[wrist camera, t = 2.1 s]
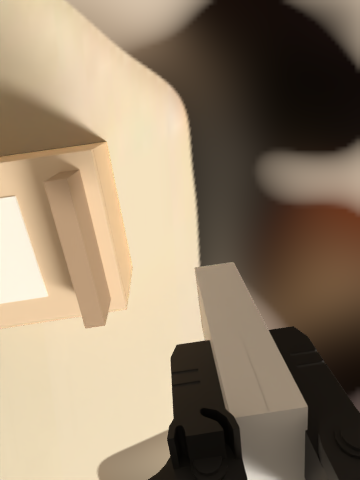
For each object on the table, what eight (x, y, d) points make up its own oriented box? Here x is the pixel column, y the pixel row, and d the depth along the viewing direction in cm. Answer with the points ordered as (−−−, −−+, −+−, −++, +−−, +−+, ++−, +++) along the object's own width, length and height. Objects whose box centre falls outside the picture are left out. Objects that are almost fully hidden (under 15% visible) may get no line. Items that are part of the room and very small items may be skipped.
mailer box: (-24, 291, 29) (-67, 333, 23) (-76, 167, 25) (-143, 182, 19) (132, 267, 29) (127, 304, 23) (106, 141, 25) (93, 148, 19)
